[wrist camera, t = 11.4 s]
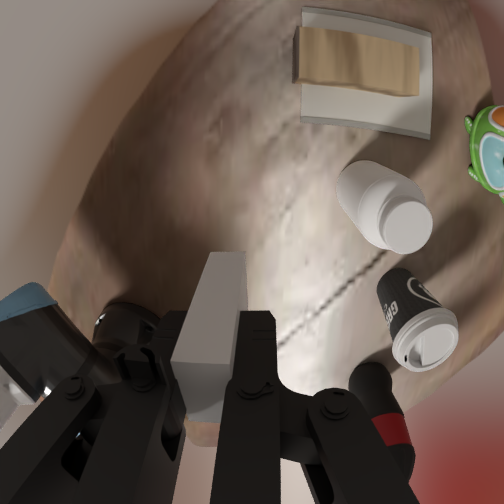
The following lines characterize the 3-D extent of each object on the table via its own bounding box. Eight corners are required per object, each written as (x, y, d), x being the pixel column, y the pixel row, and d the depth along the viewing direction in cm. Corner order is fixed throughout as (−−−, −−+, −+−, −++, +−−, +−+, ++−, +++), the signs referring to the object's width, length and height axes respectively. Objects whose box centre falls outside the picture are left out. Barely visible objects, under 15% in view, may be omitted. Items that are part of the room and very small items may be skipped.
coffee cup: (375, 256, 42) (413, 318, 29) (428, 261, 42) (475, 317, 28) (361, 309, 46) (386, 378, 33) (411, 311, 46) (445, 373, 32)
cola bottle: (337, 381, 54) (358, 523, 27) (363, 353, 50) (401, 504, 23) (369, 389, 55) (397, 518, 28) (395, 363, 51) (438, 498, 24)
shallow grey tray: (300, 122, 35) (300, 122, 34) (301, 8, 28) (302, 6, 28) (427, 139, 34) (429, 139, 33) (429, 34, 27) (431, 33, 27)
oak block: (296, 76, 27) (419, 95, 26) (296, 26, 24) (418, 47, 24) (292, 83, 32) (398, 97, 32) (292, 39, 30) (399, 55, 29)
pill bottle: (392, 211, 39) (443, 259, 25) (339, 220, 40) (370, 274, 27) (387, 155, 36) (444, 179, 22) (330, 163, 37) (364, 191, 23)
